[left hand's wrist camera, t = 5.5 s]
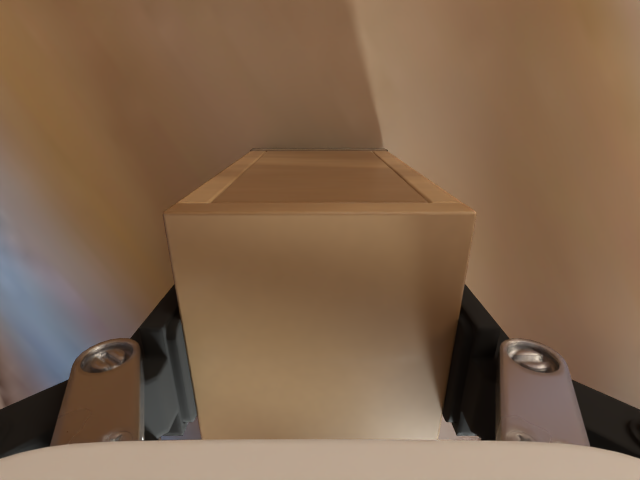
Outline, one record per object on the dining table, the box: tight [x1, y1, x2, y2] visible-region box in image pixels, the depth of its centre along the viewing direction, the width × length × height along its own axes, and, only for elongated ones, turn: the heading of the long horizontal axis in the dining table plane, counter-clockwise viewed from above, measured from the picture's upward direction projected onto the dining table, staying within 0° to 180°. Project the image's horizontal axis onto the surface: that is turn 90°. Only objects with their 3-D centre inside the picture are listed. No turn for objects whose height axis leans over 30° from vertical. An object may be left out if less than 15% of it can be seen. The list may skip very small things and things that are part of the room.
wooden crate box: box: [163, 148, 476, 440], centre depth 16 cm, size 20×6×11 cm, turn 0°
